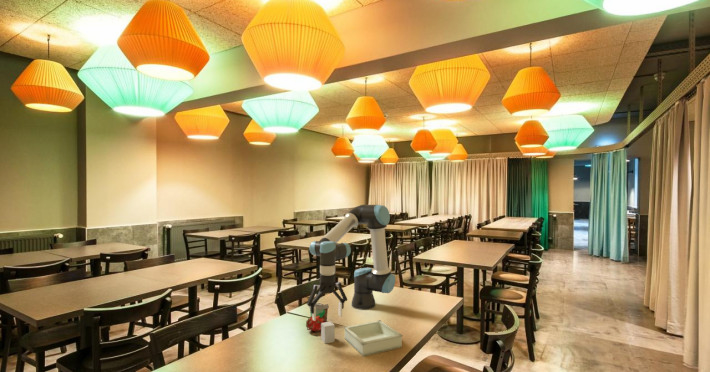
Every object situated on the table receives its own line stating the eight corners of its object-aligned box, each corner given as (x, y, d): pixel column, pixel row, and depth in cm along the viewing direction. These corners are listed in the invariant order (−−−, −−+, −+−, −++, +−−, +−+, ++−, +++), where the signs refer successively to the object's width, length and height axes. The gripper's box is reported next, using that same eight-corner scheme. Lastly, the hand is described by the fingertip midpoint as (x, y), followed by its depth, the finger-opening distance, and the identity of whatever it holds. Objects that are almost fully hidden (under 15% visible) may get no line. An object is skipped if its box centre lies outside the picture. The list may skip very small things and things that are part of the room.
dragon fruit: (303, 336, 175) (324, 334, 181) (310, 330, 170) (331, 328, 176) (301, 319, 180) (321, 318, 186) (308, 313, 175) (328, 312, 181)
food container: (304, 321, 190) (304, 303, 190) (310, 318, 195) (310, 300, 196) (322, 325, 184) (322, 307, 184) (328, 322, 190) (328, 303, 190)
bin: (380, 331, 177) (380, 320, 177) (402, 347, 158) (402, 335, 158) (343, 338, 168) (343, 327, 168) (362, 356, 149) (362, 343, 149)
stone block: (330, 337, 169) (330, 321, 169) (334, 341, 165) (334, 324, 165) (321, 339, 167) (321, 323, 167) (324, 343, 163) (324, 326, 163)
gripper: (347, 269, 175) (347, 311, 175) (300, 274, 165) (300, 319, 164) (354, 272, 169) (353, 316, 168) (305, 278, 158) (304, 324, 157)
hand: (327, 317), depth 166 cm, fingers open, 13 cm apart
